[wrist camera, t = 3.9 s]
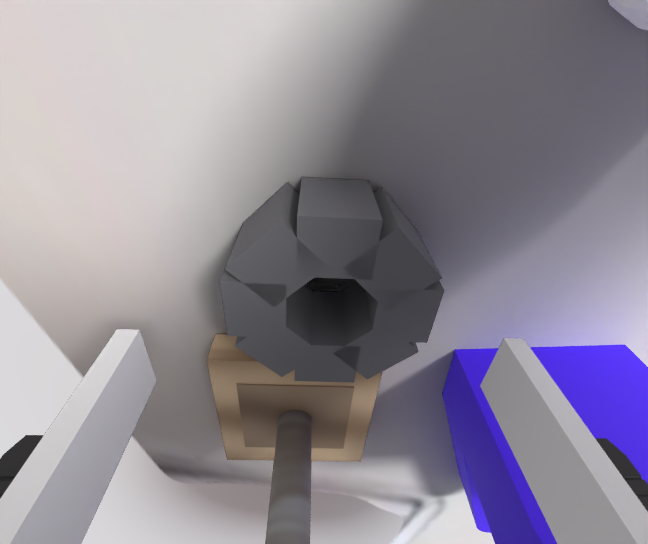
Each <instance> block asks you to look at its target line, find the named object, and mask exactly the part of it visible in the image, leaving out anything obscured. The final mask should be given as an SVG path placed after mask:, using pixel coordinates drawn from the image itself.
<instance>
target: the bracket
mask: <svg viewBox="0 0 648 544" xmlns="http://www.w3.org/2000/svg"><path fill="white" fill-rule="evenodd" d="M530 348H531V350H532V351H533V353H534V354H535V355H536V357H537V358H538V359H539V361H540V362H541V364H542V365H543V366H544V368H545V369H546V371H547V372H548V373H549V375H550V376H551V378H552V379H553V380H554V382H555V383H556V385H557V386H558V387H559V389H560V390H561V392H562V393H563V394H564V396H565V397H566V399H567V400H568V401H569V403H570V404H571V406H572V407H573V408H574V410H575V411H576V413H577V414H578V415H579V417H580V418H581V419H582V421H583V422H584V424H585V425H586V426H587V428H588V429H589V431H590V432H591V433H592V435H593V436H594V438H607V439H608V440H609V441H610V442H611V443H612V444H614V445H615V446H616V447H617V448H618V449H619V450H620V451H621V452H623V453H624V454H625V455H626V456H627V457H628V459H629V460H630V461H631V463H632V464H633V465H634V467H635V468H636V469H637V471H638V472H639V473H640V475H641V478H642V479H643V480H645V481H646V482H647V484H648V367H647V366H646V365H645V364H644V363H643V362H642V361H641V360H640V359H639V358H638V357H637V356H636V355H635V354H634V353H633V352H632V351H631V350H630V349H629V348H628V347H627V346H626V345H599V346H564V347H530ZM498 349H499V348H494V349H460V350H455V351H454V354H453V358H452V361H451V365H450V368H449V372H448V375H447V379H446V382H445V386H444V389H443V393H442V394H443V399H444V404H445V408H446V413H447V418H448V422H449V427H450V432H451V437H452V441H453V446H454V451H455V455H456V460H457V465H458V470H459V474H460V477H461V480H462V483H463V486H464V489H465V492H466V495H467V498H468V501H469V504H470V508H471V511H472V514H473V517H474V520H475V523H476V526H477V528H478V529H479V530H480V531H483V532H490V533H492V536H493V539H494V542H495V544H557V542H556V540H555V538H554V536H553V534H552V532H551V530H550V528H549V525H548V523H547V521H546V519H545V517H544V515H543V513H542V511H541V509H540V507H539V505H538V503H537V501H536V499H535V497H534V495H533V493H532V491H531V489H530V487H529V485H528V483H527V481H526V479H525V476H524V474H523V472H522V470H521V468H520V466H519V464H518V462H517V460H516V458H515V456H514V454H513V452H512V450H511V448H510V446H509V444H508V442H507V440H506V438H505V436H504V434H503V432H502V430H501V428H500V425H499V423H498V421H497V419H496V417H495V415H494V413H493V411H492V409H491V407H490V405H489V403H488V401H487V399H486V397H485V395H484V393H483V391H482V389H481V387H480V385H481V383H482V381H483V379H484V377H485V375H486V373H487V371H488V369H489V367H490V365H491V363H492V361H493V359H494V357H495V355H496V353H497V351H498Z"/></svg>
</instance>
